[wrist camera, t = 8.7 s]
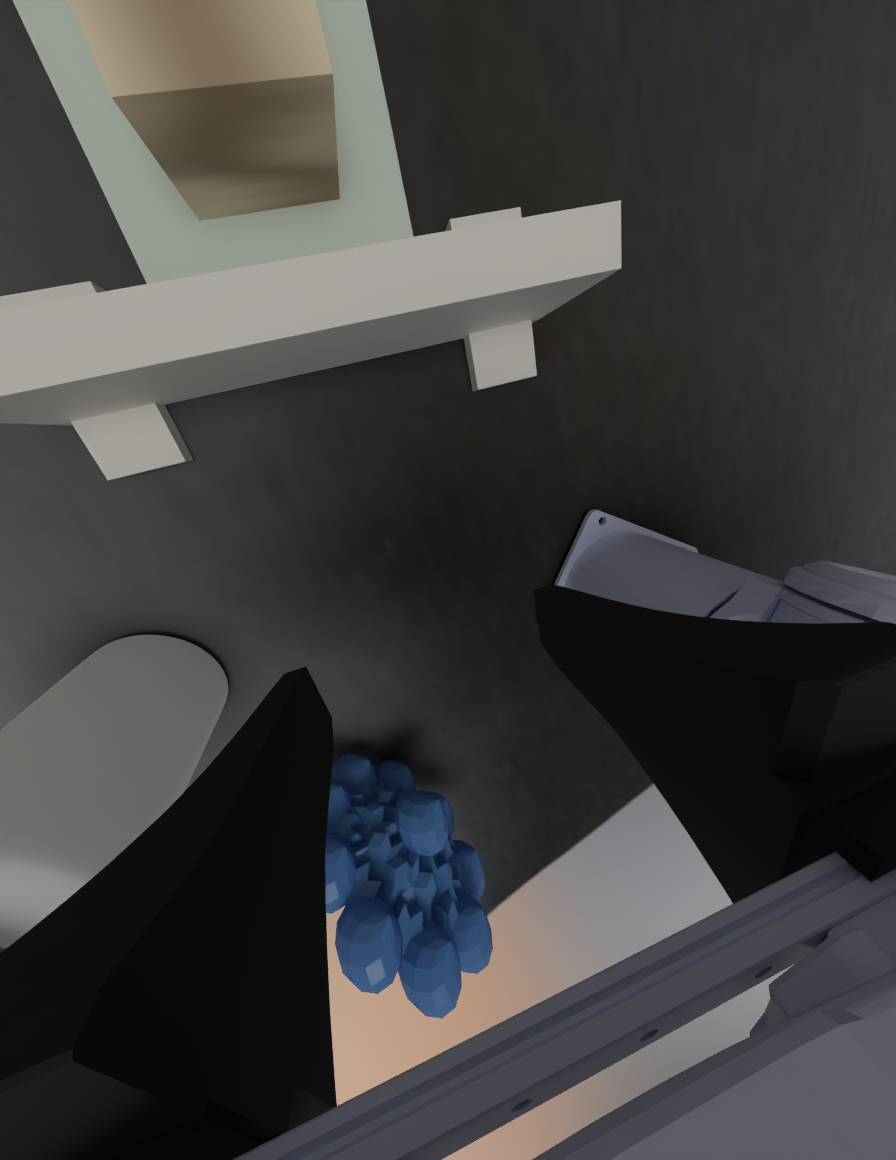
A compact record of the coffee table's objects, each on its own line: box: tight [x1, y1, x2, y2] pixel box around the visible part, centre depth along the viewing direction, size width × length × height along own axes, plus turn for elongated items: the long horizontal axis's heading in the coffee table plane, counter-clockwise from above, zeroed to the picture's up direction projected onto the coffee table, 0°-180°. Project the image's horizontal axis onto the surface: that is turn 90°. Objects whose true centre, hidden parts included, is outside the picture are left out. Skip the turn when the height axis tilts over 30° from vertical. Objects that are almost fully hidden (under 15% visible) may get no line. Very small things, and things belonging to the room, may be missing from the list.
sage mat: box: [13, 0, 413, 284], centre depth 12 cm, size 10×10×1 cm
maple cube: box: [70, 0, 340, 221], centre depth 9 cm, size 5×5×5 cm
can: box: [0, 635, 228, 953], centre depth 13 cm, size 6×6×12 cm
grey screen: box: [0, 200, 621, 480], centre depth 12 cm, size 20×6×6 cm, turn 103°
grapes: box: [325, 753, 493, 1018], centre depth 19 cm, size 12×7×12 cm, turn 55°
